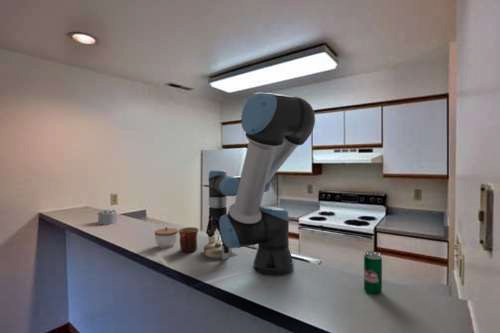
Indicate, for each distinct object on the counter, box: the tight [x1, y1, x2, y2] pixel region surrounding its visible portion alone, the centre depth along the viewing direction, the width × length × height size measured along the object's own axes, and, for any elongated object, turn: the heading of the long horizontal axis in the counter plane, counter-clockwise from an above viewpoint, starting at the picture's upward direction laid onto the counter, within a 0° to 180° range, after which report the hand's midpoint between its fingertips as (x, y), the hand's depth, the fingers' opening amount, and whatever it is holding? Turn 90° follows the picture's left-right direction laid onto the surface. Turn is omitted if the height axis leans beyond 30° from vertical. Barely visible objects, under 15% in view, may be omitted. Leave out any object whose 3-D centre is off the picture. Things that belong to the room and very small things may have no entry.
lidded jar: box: [154, 226, 179, 249], centre depth 129 cm, size 11×11×9 cm
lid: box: [203, 241, 233, 259], centre depth 116 cm, size 12×12×4 cm
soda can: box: [363, 250, 383, 296], centre depth 83 cm, size 5×5×12 cm
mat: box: [200, 251, 238, 262], centre depth 115 cm, size 12×12×1 cm
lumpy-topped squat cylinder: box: [97, 209, 118, 226], centre depth 180 cm, size 10×13×9 cm
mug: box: [178, 226, 199, 254], centre depth 119 cm, size 12×9×10 cm
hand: (218, 255), depth 116 cm, fingers open, 13 cm apart
